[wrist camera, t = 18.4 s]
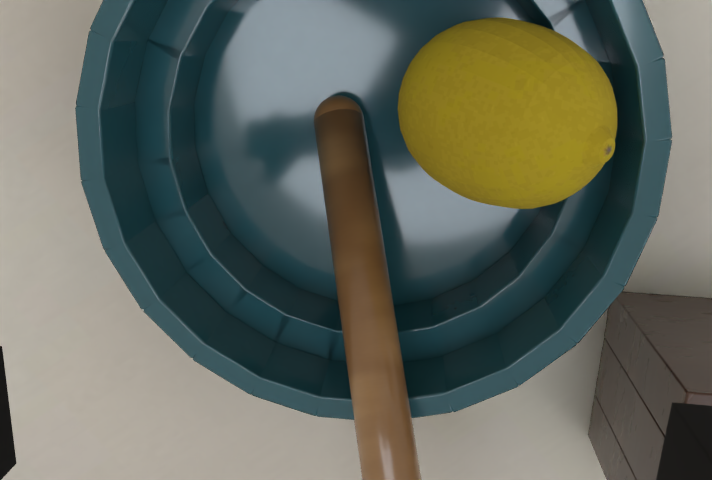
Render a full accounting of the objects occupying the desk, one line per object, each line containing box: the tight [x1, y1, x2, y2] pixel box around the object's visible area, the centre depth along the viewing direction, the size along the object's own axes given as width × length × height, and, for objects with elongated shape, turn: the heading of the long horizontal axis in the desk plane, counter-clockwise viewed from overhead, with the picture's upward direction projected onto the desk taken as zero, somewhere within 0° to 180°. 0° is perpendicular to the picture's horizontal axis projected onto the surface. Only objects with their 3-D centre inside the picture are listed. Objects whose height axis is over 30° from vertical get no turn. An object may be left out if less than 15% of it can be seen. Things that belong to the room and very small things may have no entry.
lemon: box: [398, 17, 617, 209], centre depth 21 cm, size 6×6×8 cm
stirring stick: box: [314, 95, 421, 480], centre depth 22 cm, size 2×2×20 cm
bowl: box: [75, 0, 672, 420], centre depth 23 cm, size 18×18×6 cm
